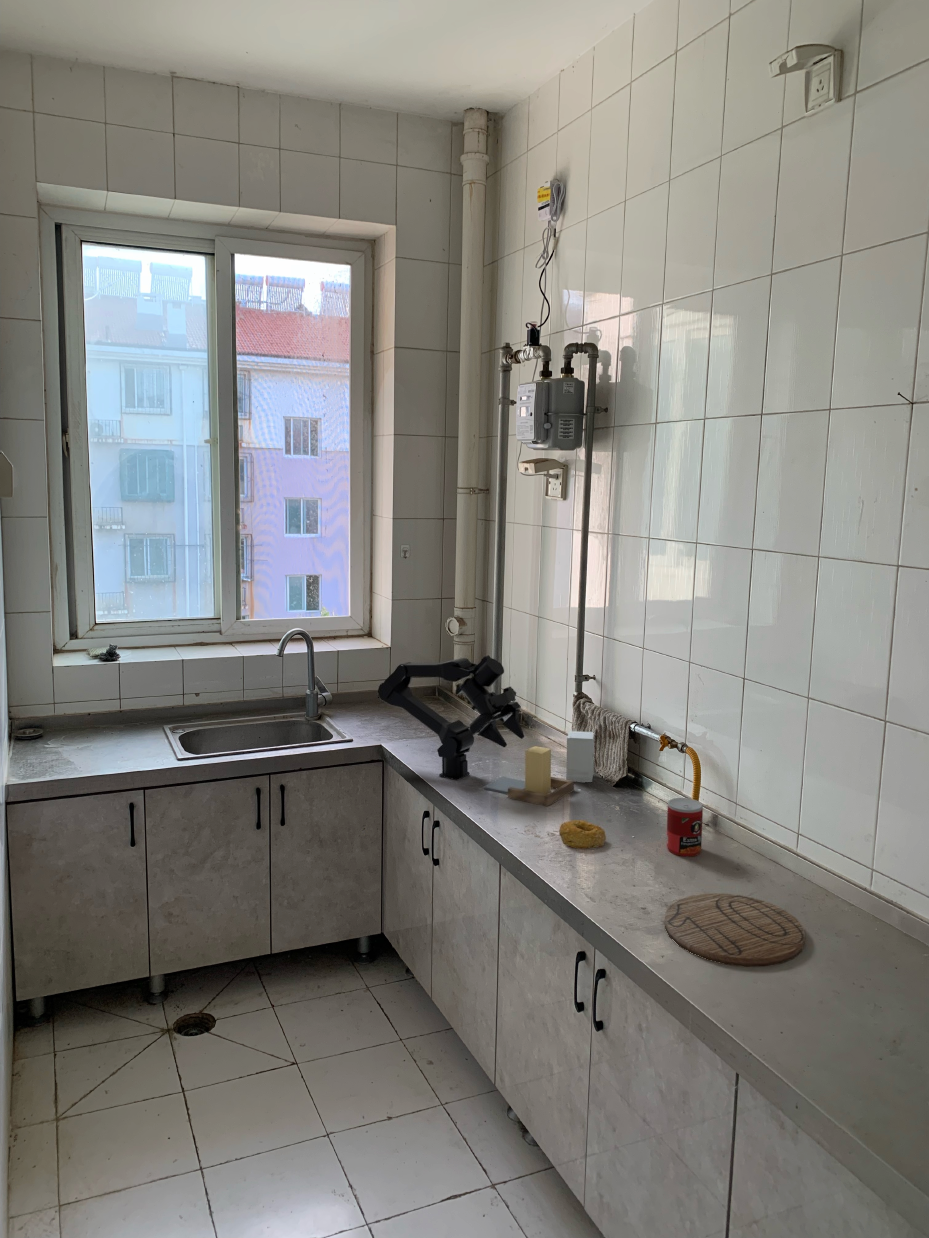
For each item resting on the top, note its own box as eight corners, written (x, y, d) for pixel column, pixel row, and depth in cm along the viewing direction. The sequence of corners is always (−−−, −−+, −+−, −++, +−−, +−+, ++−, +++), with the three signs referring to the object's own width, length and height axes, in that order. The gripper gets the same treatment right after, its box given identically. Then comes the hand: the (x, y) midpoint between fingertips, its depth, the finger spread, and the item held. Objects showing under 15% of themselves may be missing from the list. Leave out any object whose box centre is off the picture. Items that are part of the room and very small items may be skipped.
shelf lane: (507, 797, 243) (507, 788, 243) (534, 782, 255) (534, 773, 254) (548, 806, 236) (548, 796, 236) (573, 790, 248) (573, 781, 248)
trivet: (722, 981, 156) (723, 970, 155) (638, 916, 178) (638, 907, 178) (835, 950, 165) (835, 940, 165) (741, 892, 188) (741, 884, 188)
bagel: (595, 854, 207) (596, 834, 206) (551, 845, 213) (551, 825, 212) (612, 839, 215) (613, 820, 215) (569, 831, 221) (569, 812, 220)
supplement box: (592, 783, 254) (593, 738, 252) (565, 781, 255) (566, 737, 253) (594, 774, 261) (594, 731, 259) (567, 773, 262) (568, 730, 260)
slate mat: (483, 788, 250) (483, 786, 250) (502, 778, 258) (502, 776, 258) (515, 795, 244) (515, 793, 244) (534, 785, 252) (534, 782, 252)
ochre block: (525, 794, 245) (525, 750, 244) (534, 788, 250) (534, 746, 248) (541, 797, 243) (541, 753, 241) (550, 792, 247) (551, 748, 245)
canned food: (682, 859, 203) (683, 812, 202) (658, 846, 210) (660, 800, 209) (708, 853, 207) (710, 806, 205) (685, 840, 214) (686, 795, 212)
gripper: (478, 685, 241) (515, 732, 236) (515, 672, 256) (550, 716, 252) (454, 710, 246) (489, 757, 242) (491, 696, 262) (524, 740, 257)
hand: (514, 742), depth 248 cm, fingers open, 9 cm apart
